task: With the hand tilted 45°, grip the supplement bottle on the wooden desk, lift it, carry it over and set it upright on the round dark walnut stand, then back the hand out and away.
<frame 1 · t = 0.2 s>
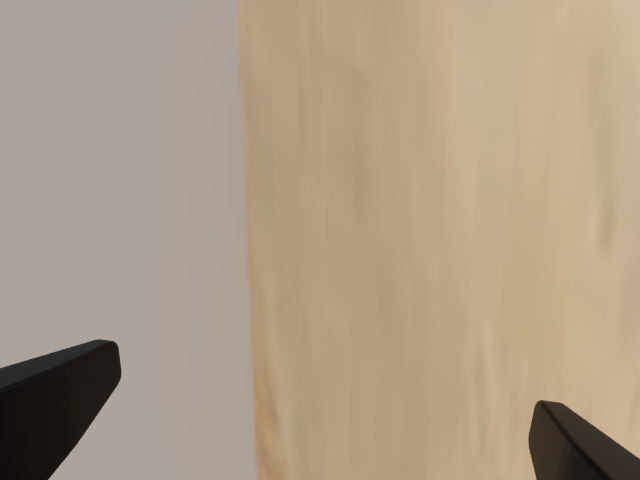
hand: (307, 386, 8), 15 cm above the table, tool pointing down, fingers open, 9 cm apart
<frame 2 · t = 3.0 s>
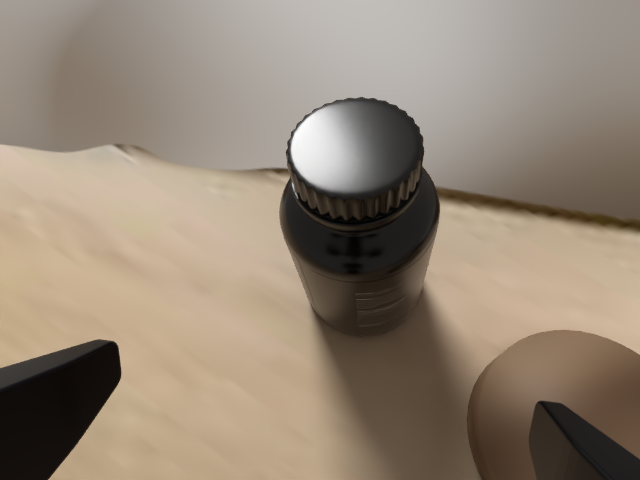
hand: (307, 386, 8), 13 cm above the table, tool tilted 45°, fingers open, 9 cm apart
walnut stand: (565, 438, 19), on the table
supplement bottle: (361, 283, 24), on the table
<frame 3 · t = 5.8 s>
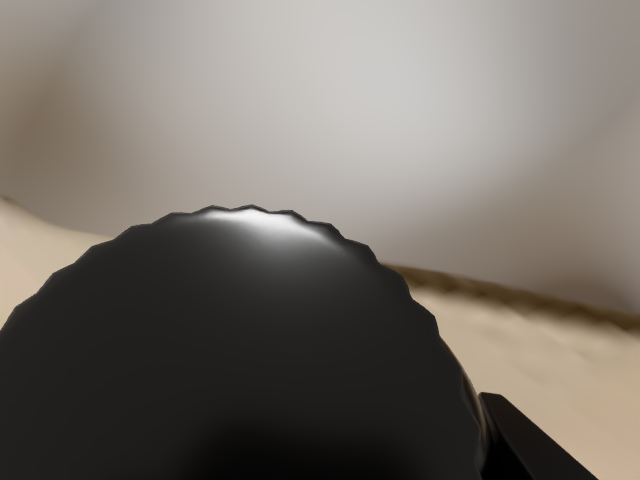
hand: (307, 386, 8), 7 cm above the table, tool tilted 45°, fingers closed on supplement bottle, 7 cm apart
supplement bottle: (328, 464, 14), on the table, touching gripper
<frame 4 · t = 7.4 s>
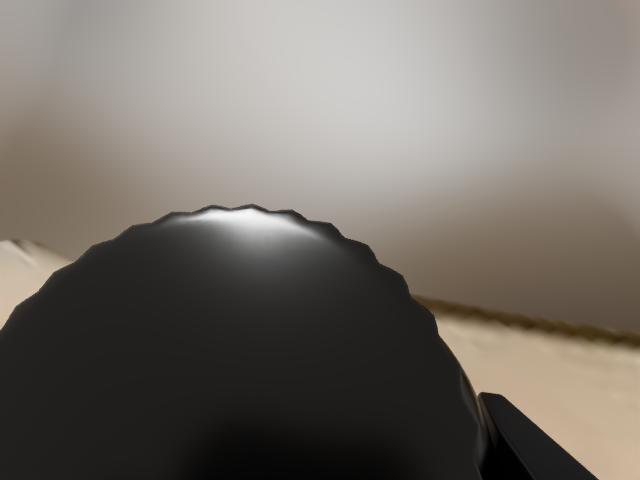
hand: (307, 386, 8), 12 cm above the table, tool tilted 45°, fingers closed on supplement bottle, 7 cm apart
supplement bottle: (327, 462, 14), point 5 cm above the table, touching gripper
when the fingers open (10 cm above the table, at t = 9.1 s): supplement bottle drops 1 cm, resting on walnut stand.
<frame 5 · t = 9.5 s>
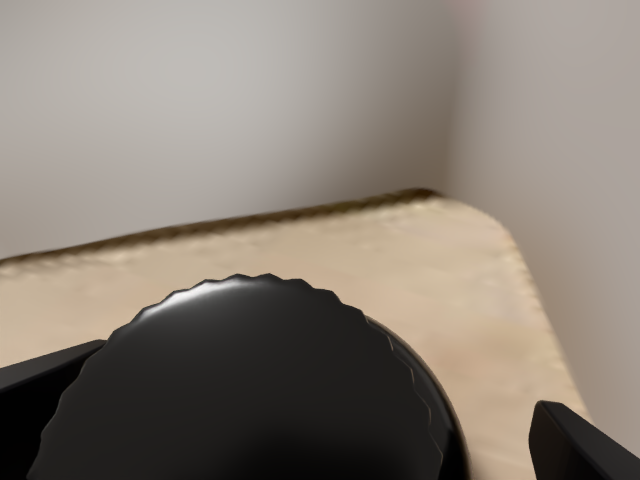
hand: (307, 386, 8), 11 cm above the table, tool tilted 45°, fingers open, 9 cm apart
supplement bottle: (330, 468, 15), point 2 cm above the table, touching walnut stand
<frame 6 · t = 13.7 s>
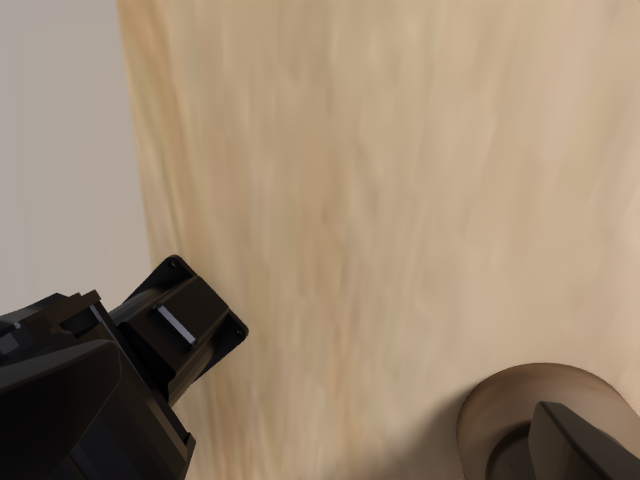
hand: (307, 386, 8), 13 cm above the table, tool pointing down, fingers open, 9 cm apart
walnut stand: (542, 435, 22), on the table
supplement bottle: (554, 468, 20), point 2 cm above the table, touching walnut stand
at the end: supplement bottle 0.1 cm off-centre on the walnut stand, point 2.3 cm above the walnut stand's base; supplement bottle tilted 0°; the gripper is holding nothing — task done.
